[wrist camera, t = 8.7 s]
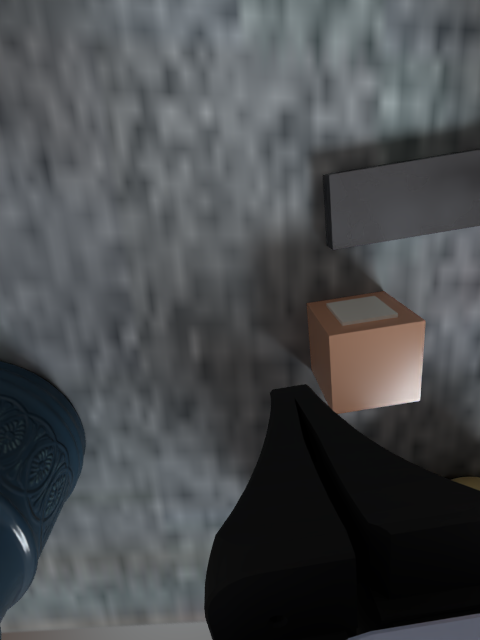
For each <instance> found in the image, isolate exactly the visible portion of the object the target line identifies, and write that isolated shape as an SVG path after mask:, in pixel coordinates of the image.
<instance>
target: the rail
mask: <svg viewBox="0 0 480 640" xmlns="http://www.w3.org/2000/svg"><path fill="white" fill-rule="evenodd" d="M323 185H324V203H325V221H326V239H327V246H328V247H329V248H331V249H332V250H336V249H342V248H348V247H354V246H360V245H366V244H372V243H378V242H384V241H390V240H396V239H402V238H408V237H414V236H420V235H426V234H432V233H438V232H444V231H450V230H456V229H462V228H469V227H475V226H480V149H475V150H469V151H463V152H457V153H451V154H445V155H439V156H433V157H427V158H421V159H415V160H409V161H403V162H397V163H391V164H385V165H379V166H373V167H367V168H361V169H355V170H349V171H343V172H337V173H331V174H325V175H323Z"/></svg>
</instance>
